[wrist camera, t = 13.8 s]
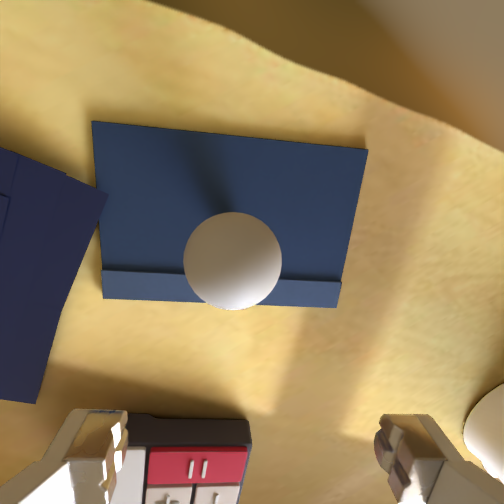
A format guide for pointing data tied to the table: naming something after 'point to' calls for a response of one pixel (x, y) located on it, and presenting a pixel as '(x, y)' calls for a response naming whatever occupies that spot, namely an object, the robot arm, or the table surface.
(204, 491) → the button panel
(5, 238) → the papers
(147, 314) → the table surface
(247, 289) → the lightbulb
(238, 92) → the table surface
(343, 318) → the table surface
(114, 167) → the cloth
